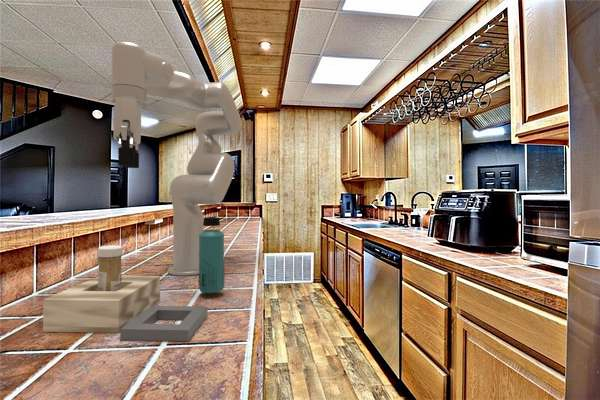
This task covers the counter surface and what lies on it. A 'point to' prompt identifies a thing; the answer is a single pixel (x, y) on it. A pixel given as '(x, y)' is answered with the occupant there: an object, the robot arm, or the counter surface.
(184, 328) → the charcoal collar
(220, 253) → the beverage bottle
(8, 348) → the counter surface
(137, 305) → the birch dock block
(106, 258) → the sprinkles bottle
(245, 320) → the counter surface
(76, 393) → the counter surface
